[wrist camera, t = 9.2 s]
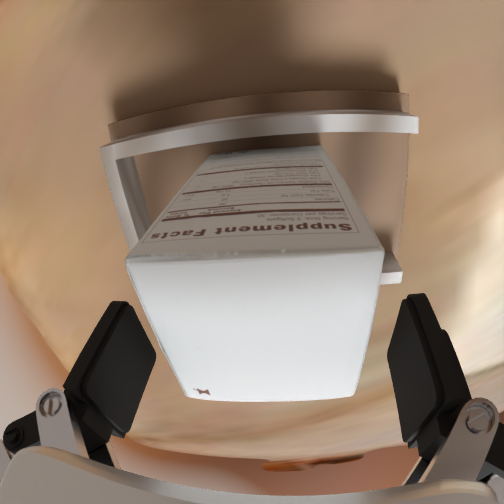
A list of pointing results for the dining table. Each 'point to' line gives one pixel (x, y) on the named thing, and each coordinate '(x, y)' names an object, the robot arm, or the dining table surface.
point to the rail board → (265, 137)
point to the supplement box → (261, 278)
